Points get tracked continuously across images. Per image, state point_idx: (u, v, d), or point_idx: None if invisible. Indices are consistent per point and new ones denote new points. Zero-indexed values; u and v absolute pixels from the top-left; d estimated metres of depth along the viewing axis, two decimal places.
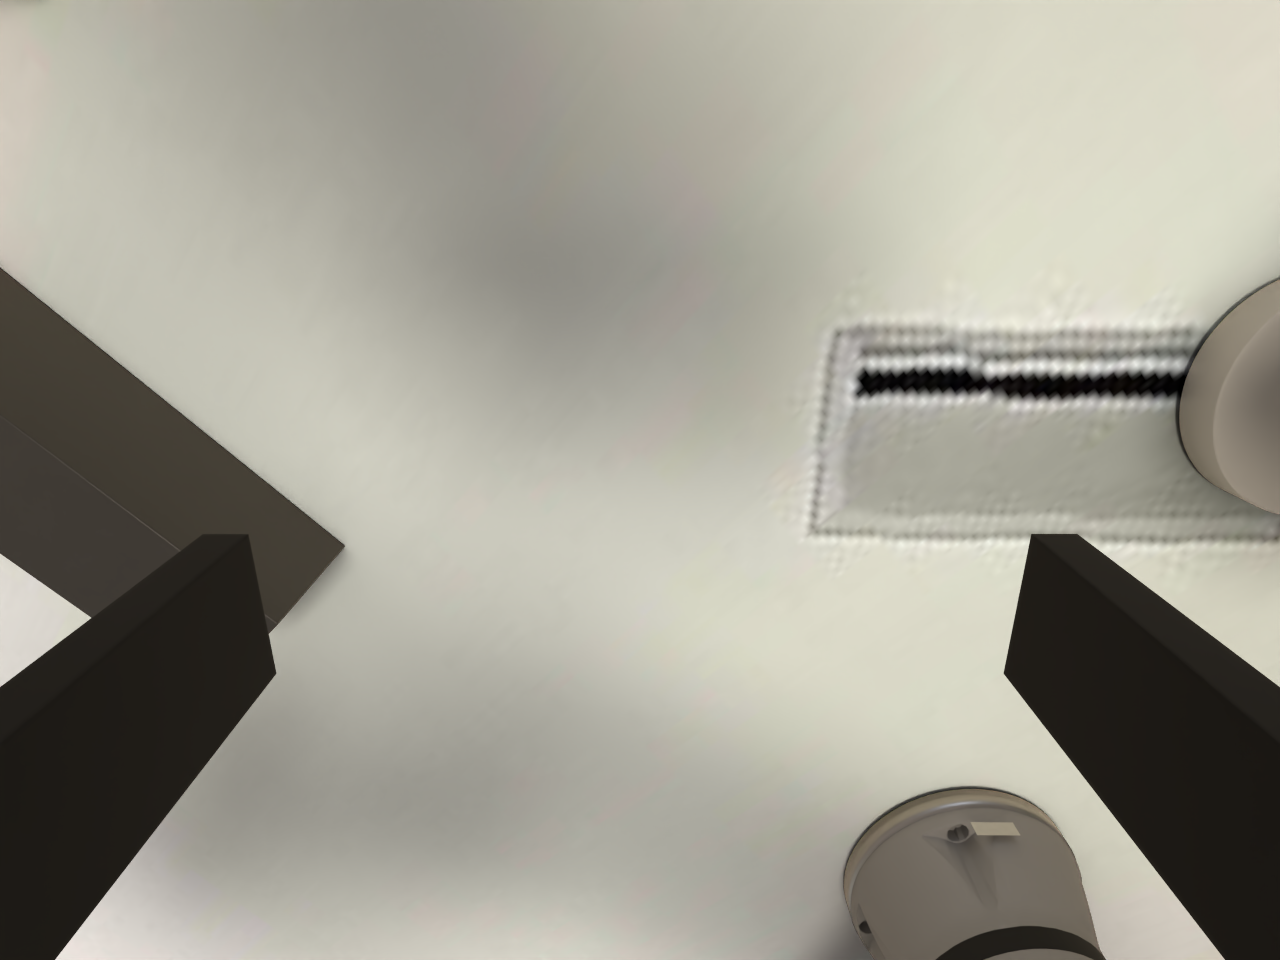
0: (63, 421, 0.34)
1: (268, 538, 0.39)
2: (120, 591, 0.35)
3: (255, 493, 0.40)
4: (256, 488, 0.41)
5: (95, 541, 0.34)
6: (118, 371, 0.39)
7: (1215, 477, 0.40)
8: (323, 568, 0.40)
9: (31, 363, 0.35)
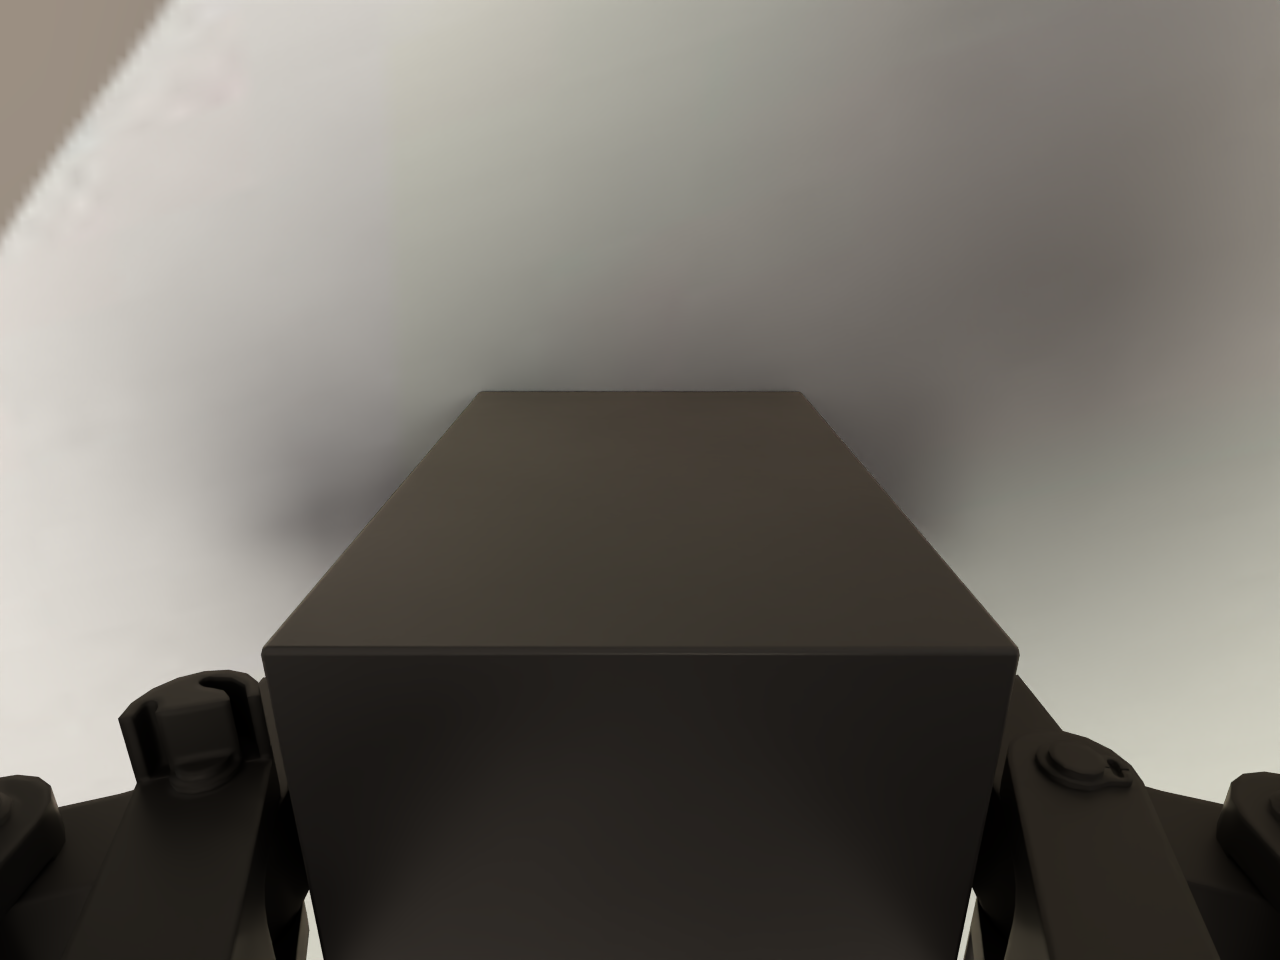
0: None
1: None
2: None
3: None
4: None
5: None
6: None
7: None
8: None
9: None
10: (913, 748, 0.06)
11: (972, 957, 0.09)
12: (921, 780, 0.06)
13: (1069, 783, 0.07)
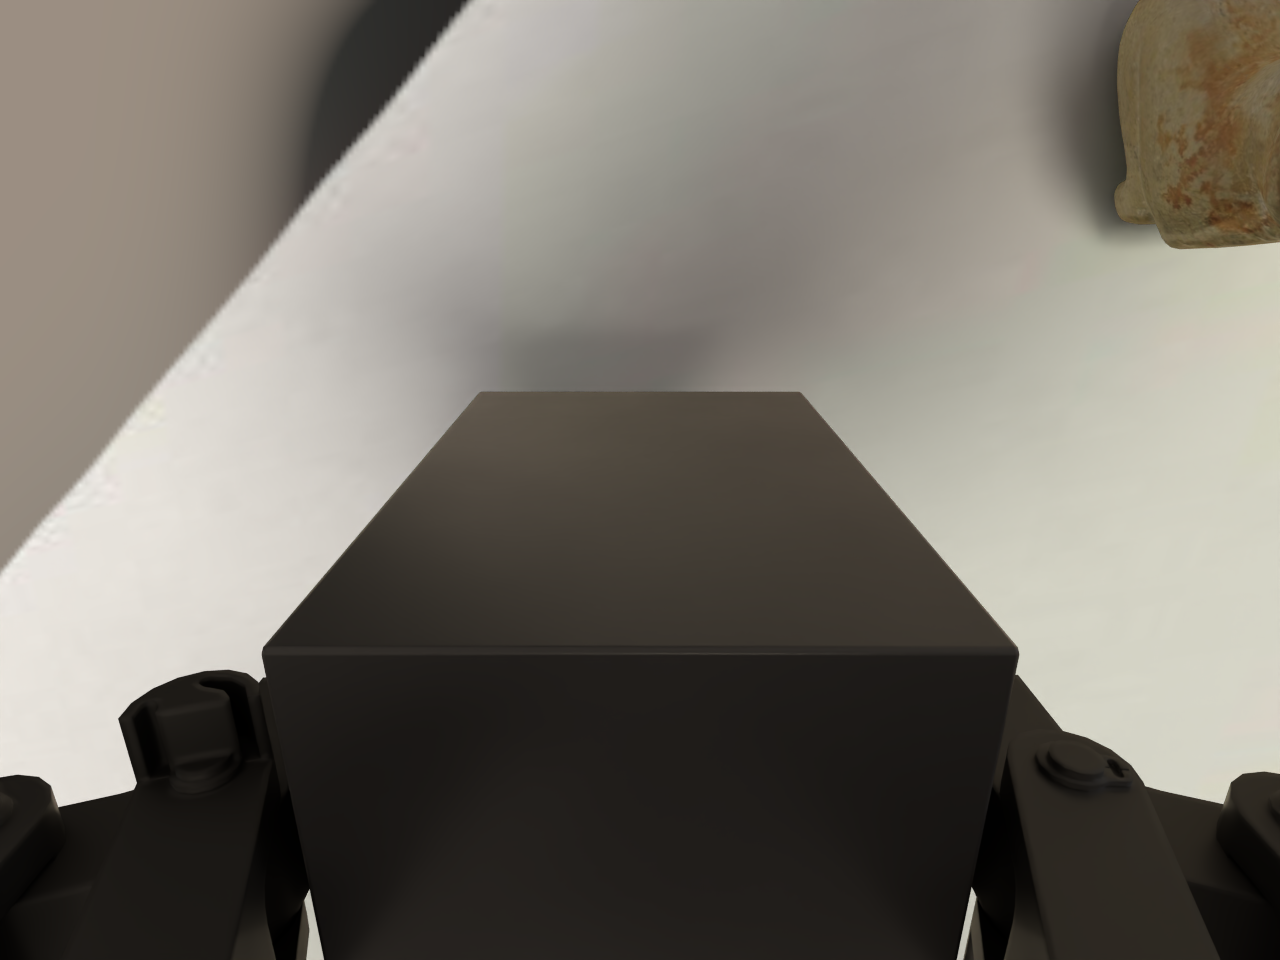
0: None
1: None
2: None
3: None
4: None
5: None
6: None
7: None
8: None
9: None
10: (912, 748, 0.06)
11: (972, 957, 0.09)
12: (921, 780, 0.06)
13: (1070, 784, 0.07)
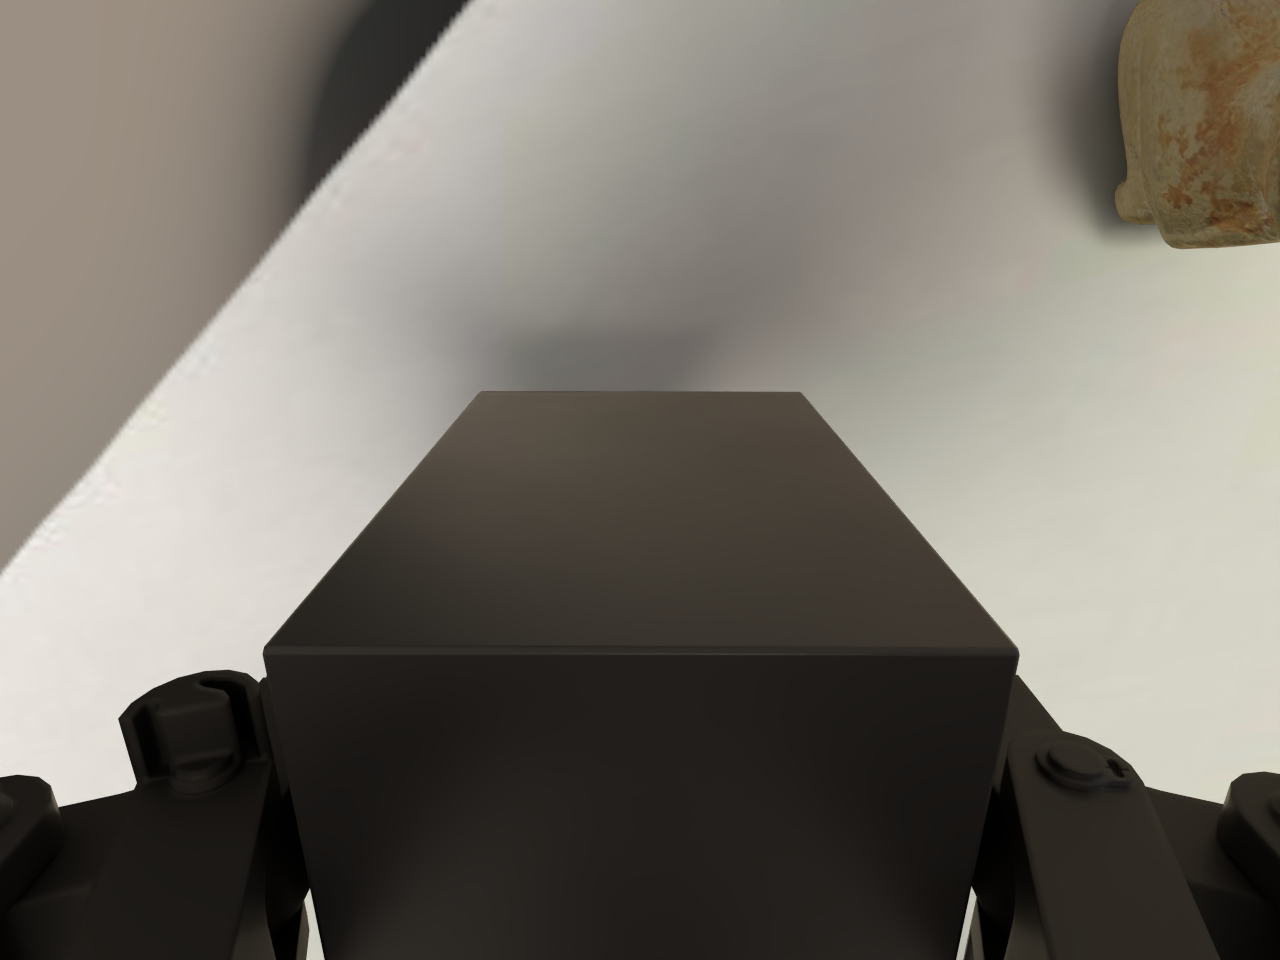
0: None
1: None
2: None
3: None
4: None
5: None
6: None
7: None
8: None
9: None
10: (914, 748, 0.06)
11: (972, 957, 0.09)
12: (920, 780, 0.06)
13: (1069, 784, 0.07)
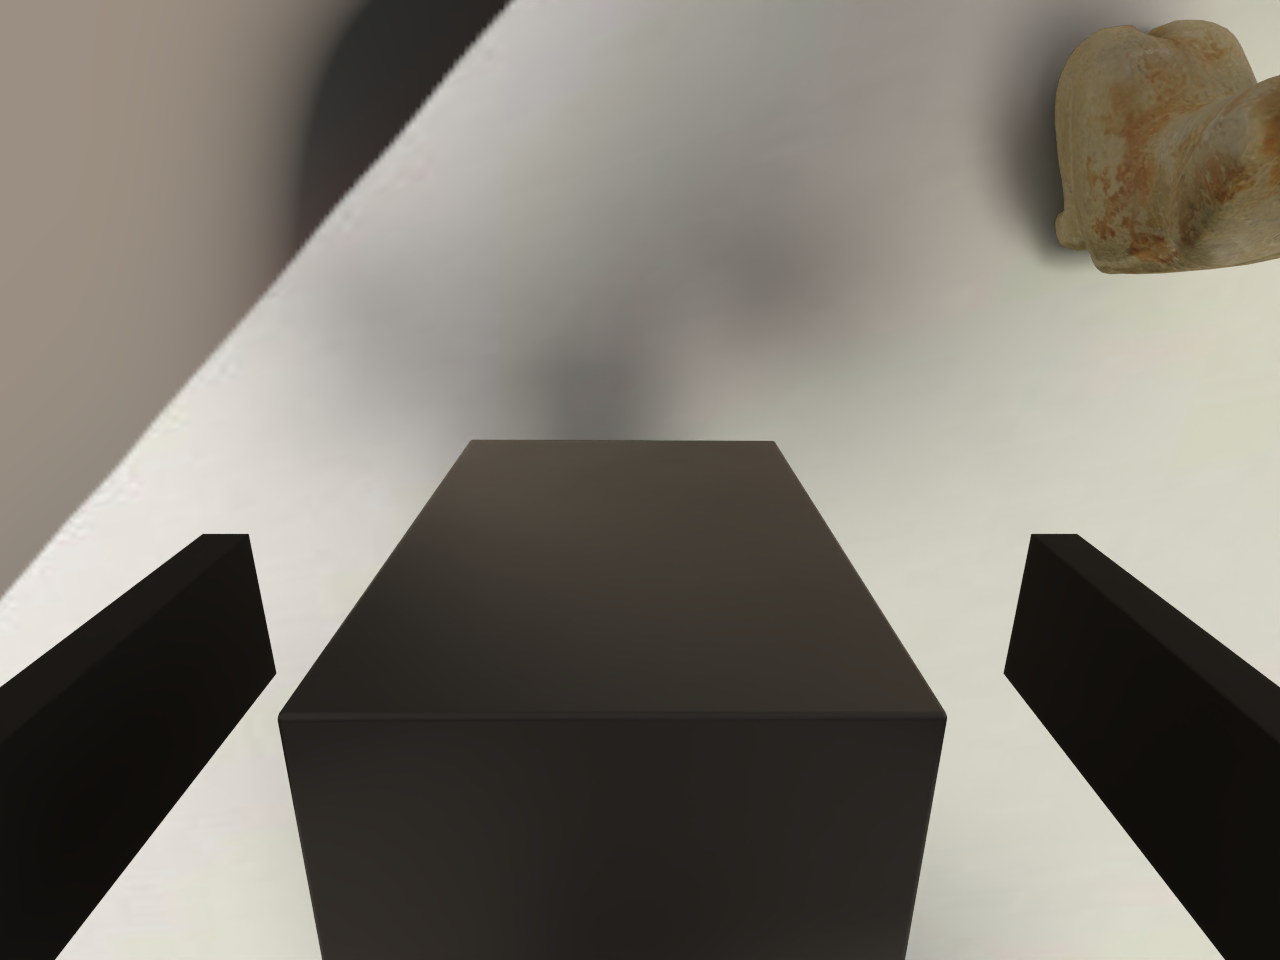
0: None
1: None
2: None
3: None
4: None
5: None
6: None
7: None
8: None
9: None
10: (856, 800, 0.07)
11: None
12: (863, 828, 0.07)
13: None
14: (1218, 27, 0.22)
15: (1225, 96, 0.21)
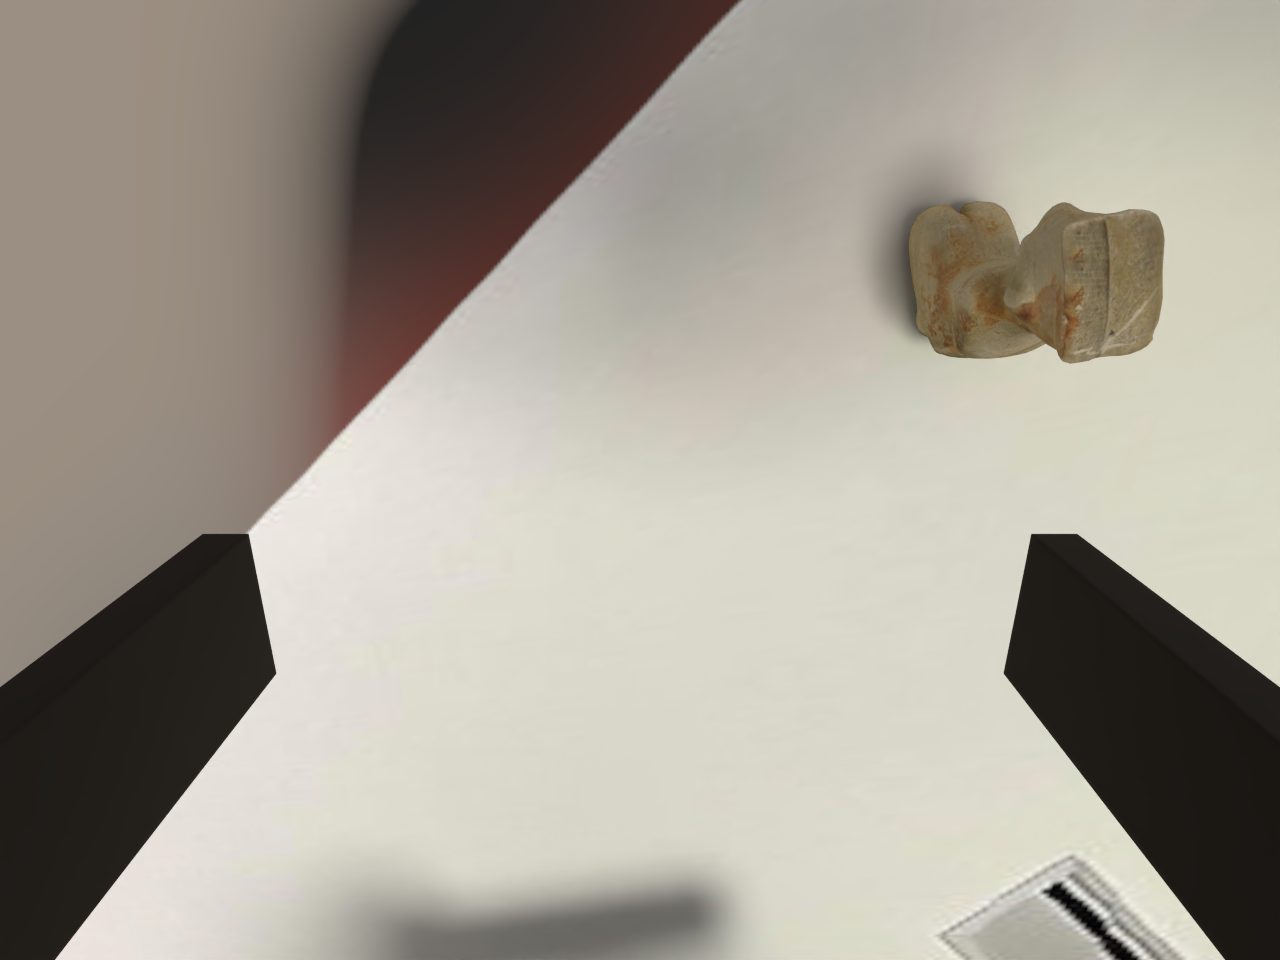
0: None
1: None
2: None
3: None
4: None
5: None
6: None
7: None
8: None
9: None
10: None
11: None
12: None
13: None
14: (997, 209, 0.36)
15: (995, 256, 0.35)
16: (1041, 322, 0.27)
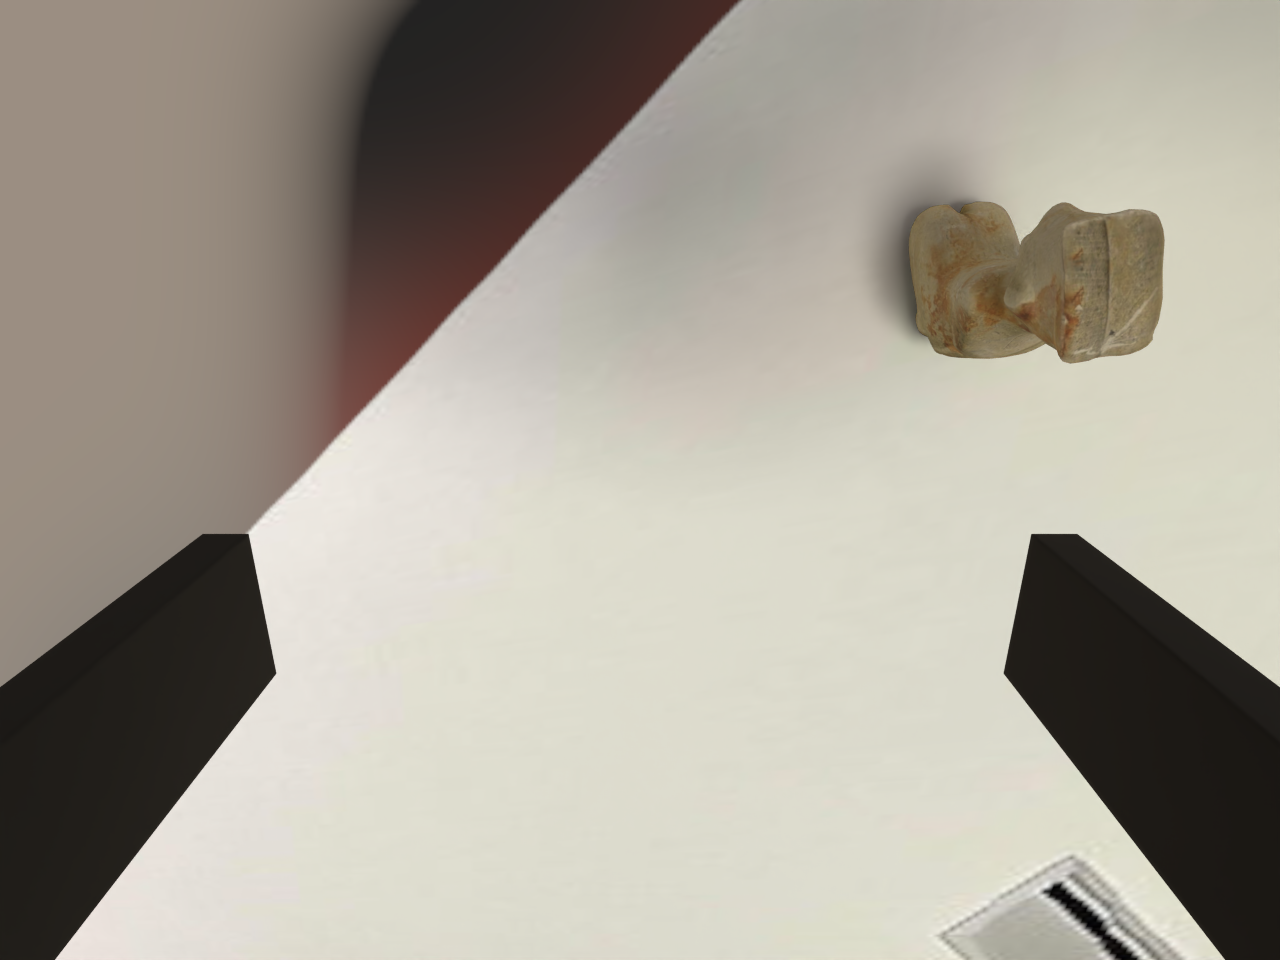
0: None
1: None
2: None
3: None
4: None
5: None
6: None
7: None
8: None
9: None
10: None
11: None
12: None
13: None
14: (997, 209, 0.36)
15: (995, 256, 0.35)
16: (1041, 322, 0.27)
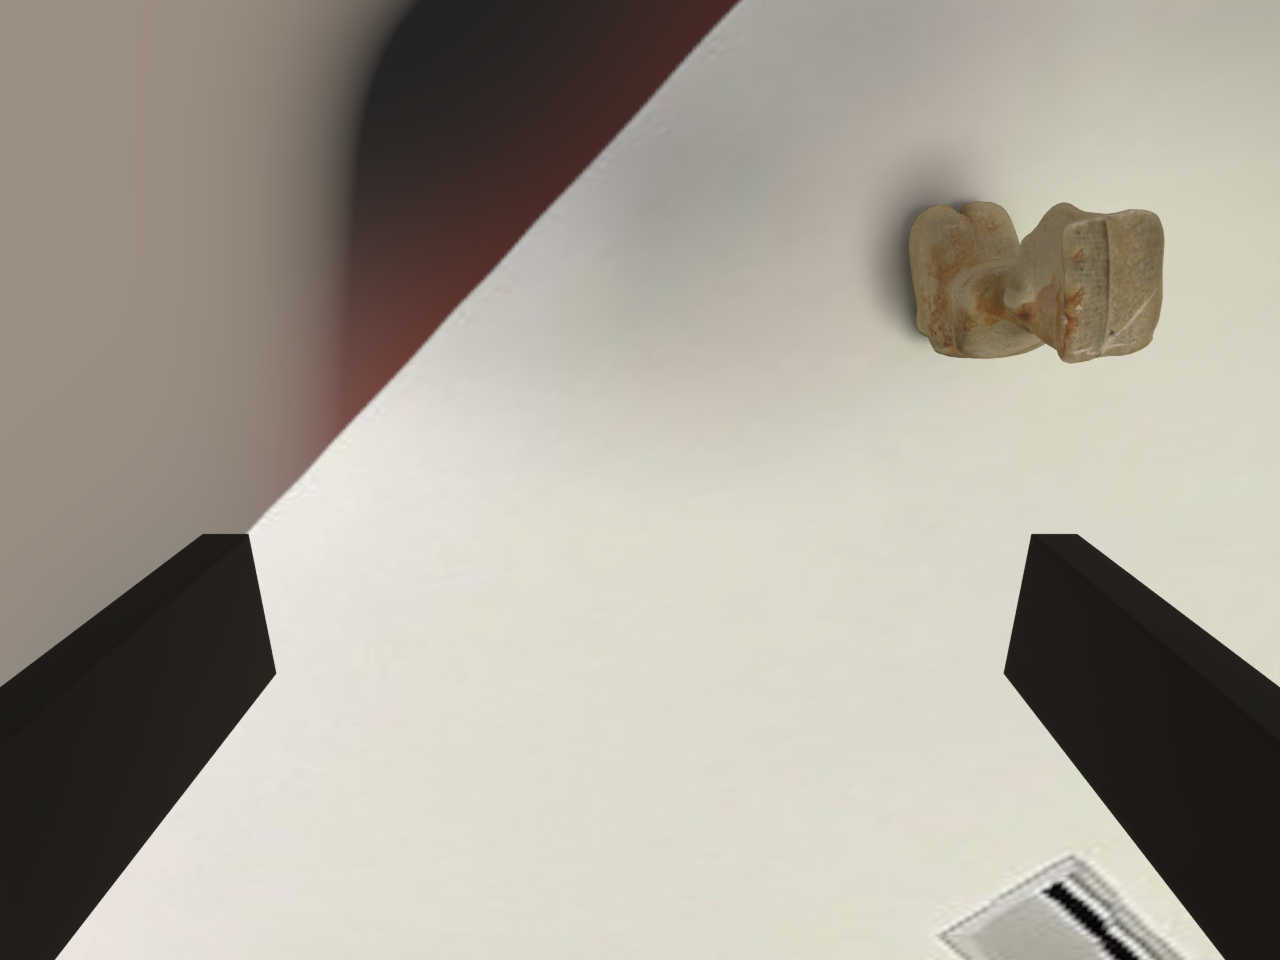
0: None
1: None
2: None
3: None
4: None
5: None
6: None
7: None
8: None
9: None
10: None
11: None
12: None
13: None
14: (997, 209, 0.36)
15: (995, 256, 0.35)
16: (1041, 322, 0.27)
